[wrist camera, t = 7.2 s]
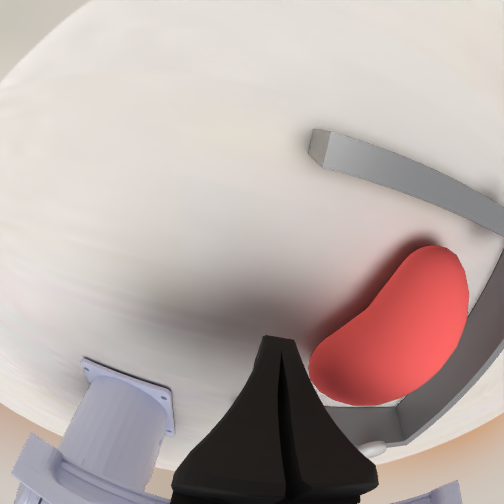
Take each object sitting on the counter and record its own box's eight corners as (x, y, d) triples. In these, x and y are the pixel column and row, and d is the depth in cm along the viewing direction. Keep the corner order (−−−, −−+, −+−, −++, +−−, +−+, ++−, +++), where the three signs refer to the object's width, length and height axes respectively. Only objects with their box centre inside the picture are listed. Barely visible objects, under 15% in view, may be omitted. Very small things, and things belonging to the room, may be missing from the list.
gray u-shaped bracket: (394, 416, 18) (402, 454, 14) (236, 407, 18) (229, 453, 14) (526, 211, 9) (569, 241, 5) (317, 112, 9) (341, 105, 5)
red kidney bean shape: (442, 294, 14) (509, 305, 7) (348, 403, 14) (377, 464, 8) (393, 237, 14) (454, 221, 8) (289, 354, 15) (295, 407, 8)
